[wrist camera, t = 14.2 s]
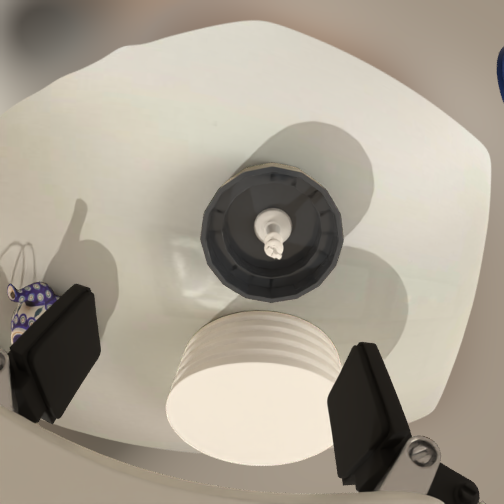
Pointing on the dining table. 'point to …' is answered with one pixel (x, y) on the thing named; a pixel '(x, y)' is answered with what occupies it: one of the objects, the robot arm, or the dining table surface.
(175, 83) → the dining table surface
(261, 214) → the chess piece
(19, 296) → the teapot
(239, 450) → the plate stack
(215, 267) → the grey faceted round tub
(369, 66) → the dining table surface
